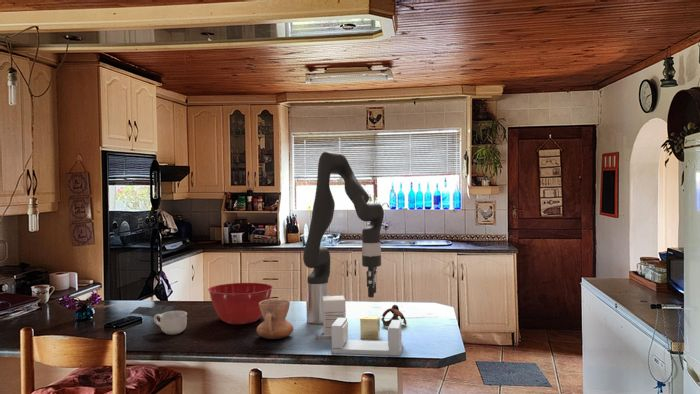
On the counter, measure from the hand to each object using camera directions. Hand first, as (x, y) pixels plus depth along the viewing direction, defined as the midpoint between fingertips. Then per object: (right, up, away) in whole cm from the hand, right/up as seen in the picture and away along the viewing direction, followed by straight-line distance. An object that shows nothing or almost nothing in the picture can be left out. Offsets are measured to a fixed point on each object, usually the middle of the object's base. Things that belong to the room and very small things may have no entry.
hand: (372, 295), depth 211 cm
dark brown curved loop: (+13, -16, +20) cm, 29 cm away
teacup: (-84, -18, +13) cm, 87 cm away
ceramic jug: (-39, -18, +3) cm, 43 cm away
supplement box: (-15, -17, +5) cm, 23 cm away
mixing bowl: (-58, -18, +29) cm, 67 cm away
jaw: (-15, -15, -13) cm, 25 cm away
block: (-1, -17, -1) cm, 17 cm away
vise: (-2, -17, -16) cm, 23 cm away
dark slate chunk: (-103, -19, +45) cm, 114 cm away
